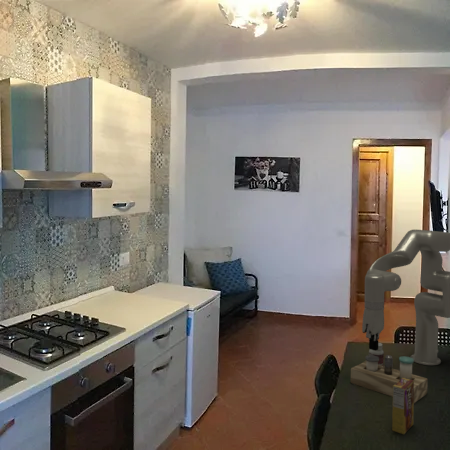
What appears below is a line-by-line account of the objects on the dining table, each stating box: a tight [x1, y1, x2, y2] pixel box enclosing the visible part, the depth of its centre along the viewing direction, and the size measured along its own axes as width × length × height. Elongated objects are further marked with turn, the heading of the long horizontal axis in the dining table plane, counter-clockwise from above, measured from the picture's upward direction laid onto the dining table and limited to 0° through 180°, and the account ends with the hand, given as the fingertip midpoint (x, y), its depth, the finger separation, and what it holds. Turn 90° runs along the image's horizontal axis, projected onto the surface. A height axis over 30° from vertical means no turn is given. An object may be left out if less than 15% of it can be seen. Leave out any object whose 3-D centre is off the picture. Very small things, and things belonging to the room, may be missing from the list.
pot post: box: [384, 354, 394, 375], centre depth 189 cm, size 3×3×7 cm
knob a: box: [365, 354, 379, 372], centre depth 194 cm, size 5×5×8 cm
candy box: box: [391, 378, 415, 435], centre depth 158 cm, size 9×4×15 cm, turn 140°
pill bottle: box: [368, 342, 385, 366], centre depth 209 cm, size 6×6×11 cm
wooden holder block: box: [350, 360, 428, 404], centre depth 190 cm, size 12×26×6 cm, turn 45°
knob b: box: [398, 355, 415, 380], centre depth 184 cm, size 5×5×8 cm
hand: (373, 349), depth 194 cm, fingers closed
